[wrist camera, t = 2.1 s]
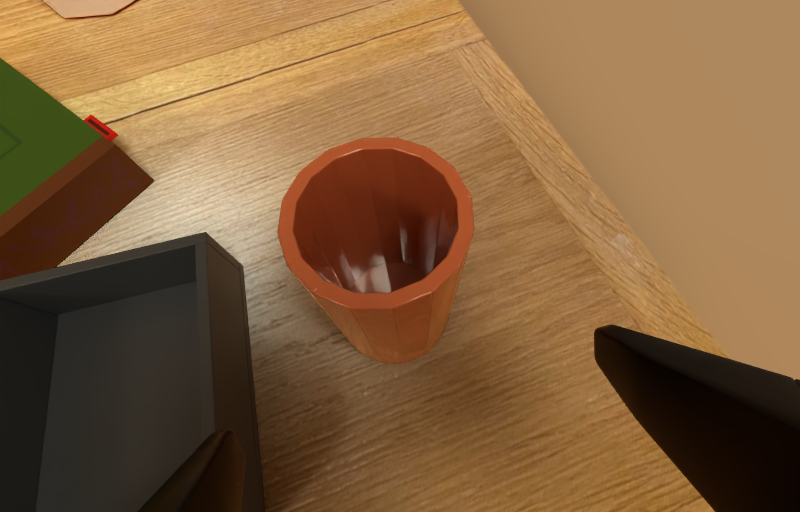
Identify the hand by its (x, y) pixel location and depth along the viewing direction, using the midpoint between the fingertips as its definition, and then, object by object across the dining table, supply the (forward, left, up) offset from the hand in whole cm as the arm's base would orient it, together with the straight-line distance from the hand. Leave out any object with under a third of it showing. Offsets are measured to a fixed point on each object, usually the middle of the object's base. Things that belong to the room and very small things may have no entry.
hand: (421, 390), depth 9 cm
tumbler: (+4, +3, -12) cm, 13 cm away
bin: (-6, +13, -12) cm, 19 cm away
